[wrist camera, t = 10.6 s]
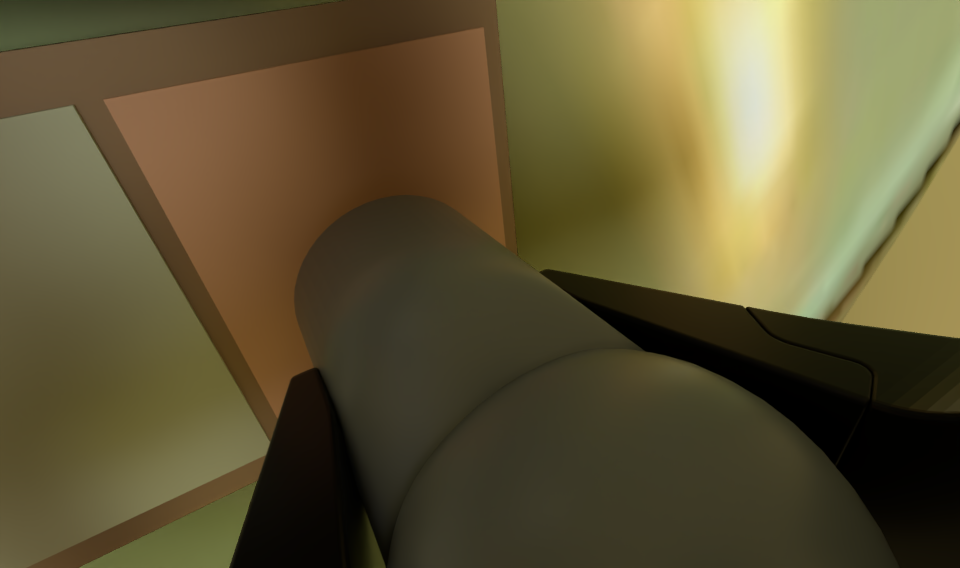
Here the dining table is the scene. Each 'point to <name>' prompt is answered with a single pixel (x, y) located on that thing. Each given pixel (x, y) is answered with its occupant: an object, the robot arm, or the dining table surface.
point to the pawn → (546, 419)
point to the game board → (203, 239)
